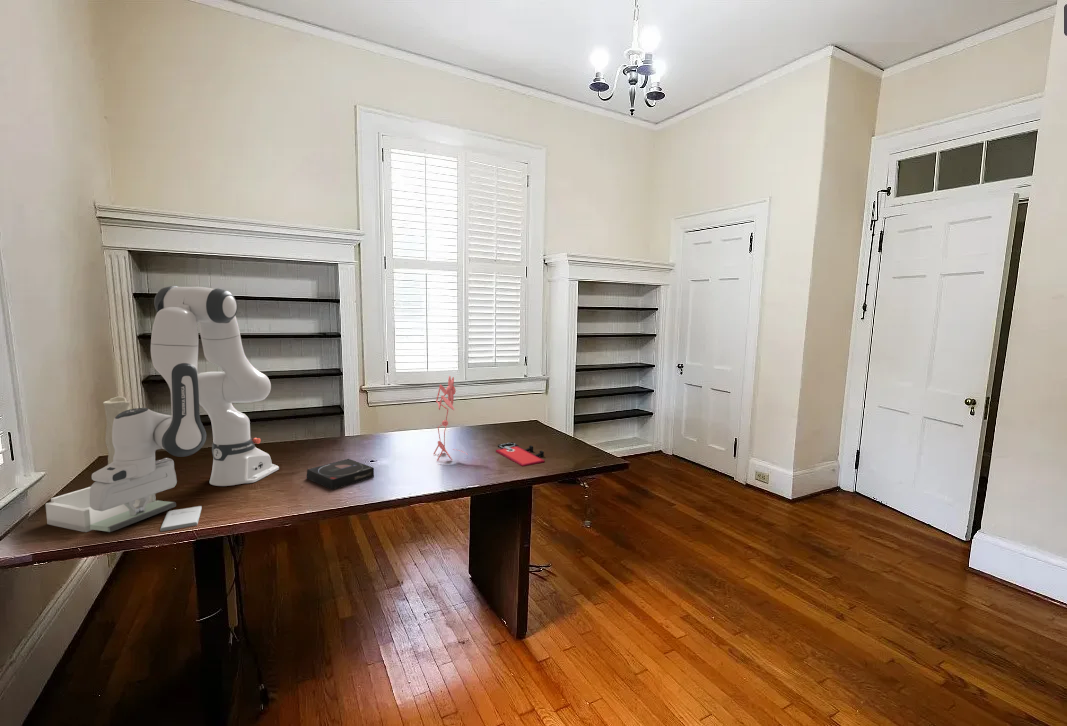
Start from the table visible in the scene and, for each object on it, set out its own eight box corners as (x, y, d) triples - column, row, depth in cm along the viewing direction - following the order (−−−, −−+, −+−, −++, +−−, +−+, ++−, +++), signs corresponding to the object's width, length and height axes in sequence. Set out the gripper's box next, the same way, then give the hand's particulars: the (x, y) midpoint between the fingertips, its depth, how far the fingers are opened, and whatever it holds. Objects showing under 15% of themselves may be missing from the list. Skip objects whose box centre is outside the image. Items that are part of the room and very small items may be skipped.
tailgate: (156, 500, 139) (175, 502, 137) (157, 504, 140) (176, 506, 138) (89, 524, 123) (109, 527, 121) (90, 529, 123) (110, 532, 121)
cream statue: (116, 480, 159) (110, 396, 156) (146, 477, 163) (141, 395, 160) (104, 489, 152) (97, 400, 148) (136, 486, 155) (130, 399, 152)
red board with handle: (515, 443, 220) (487, 448, 212) (515, 437, 220) (488, 442, 211) (551, 462, 195) (522, 468, 187) (551, 455, 195) (522, 461, 187)
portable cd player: (347, 468, 180) (347, 458, 180) (373, 478, 170) (373, 467, 170) (306, 479, 167) (306, 469, 166) (332, 491, 157) (332, 480, 156)
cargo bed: (120, 499, 144) (119, 478, 143) (156, 506, 140) (154, 484, 140) (47, 524, 127) (45, 500, 126) (85, 532, 123) (83, 507, 122)
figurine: (438, 467, 182) (441, 380, 179) (428, 449, 206) (430, 372, 203) (475, 464, 188) (479, 380, 185) (462, 447, 212) (464, 372, 208)
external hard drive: (160, 533, 125) (167, 515, 135) (197, 527, 129) (201, 510, 140) (160, 527, 125) (167, 510, 135) (197, 521, 129) (201, 505, 139)
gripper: (165, 454, 139) (167, 498, 140) (83, 476, 120) (87, 527, 121) (181, 457, 137) (182, 501, 139) (100, 479, 118) (103, 530, 119)
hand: (137, 513), depth 130 cm, fingers closed, pressing on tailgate
